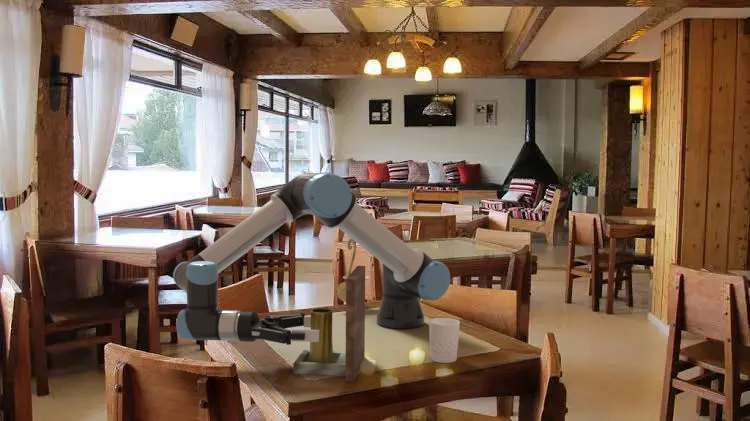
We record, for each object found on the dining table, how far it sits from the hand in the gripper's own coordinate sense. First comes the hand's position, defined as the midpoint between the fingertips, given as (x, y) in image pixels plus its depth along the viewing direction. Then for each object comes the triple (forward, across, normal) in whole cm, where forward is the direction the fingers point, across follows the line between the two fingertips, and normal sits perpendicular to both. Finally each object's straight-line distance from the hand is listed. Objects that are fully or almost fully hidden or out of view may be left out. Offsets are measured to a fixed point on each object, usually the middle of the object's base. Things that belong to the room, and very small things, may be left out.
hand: (324, 328), depth 159 cm
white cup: (+29, -11, -10) cm, 33 cm away
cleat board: (+1, 0, -10) cm, 10 cm away
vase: (-1, 0, -10) cm, 10 cm away
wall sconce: (-2, -69, -10) cm, 70 cm away
